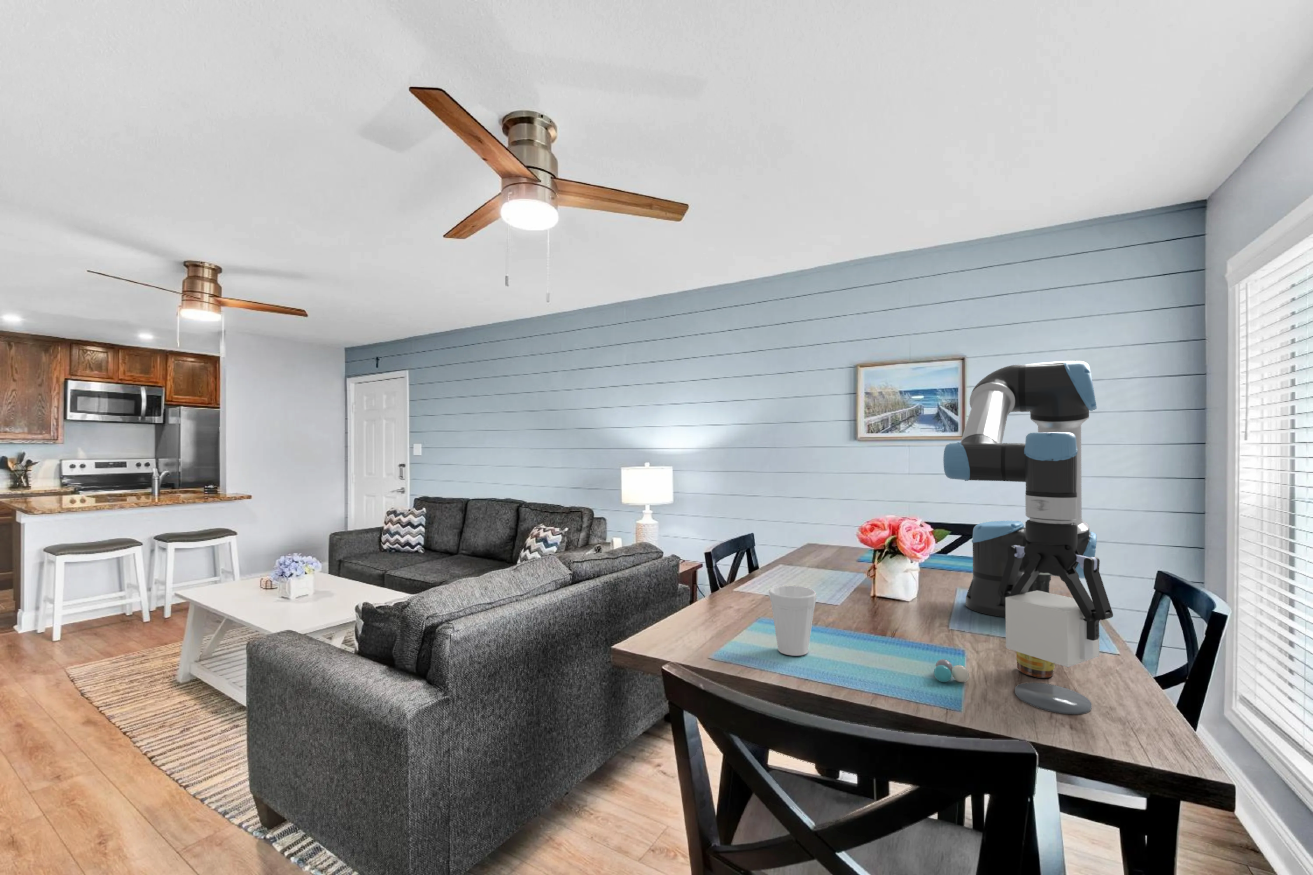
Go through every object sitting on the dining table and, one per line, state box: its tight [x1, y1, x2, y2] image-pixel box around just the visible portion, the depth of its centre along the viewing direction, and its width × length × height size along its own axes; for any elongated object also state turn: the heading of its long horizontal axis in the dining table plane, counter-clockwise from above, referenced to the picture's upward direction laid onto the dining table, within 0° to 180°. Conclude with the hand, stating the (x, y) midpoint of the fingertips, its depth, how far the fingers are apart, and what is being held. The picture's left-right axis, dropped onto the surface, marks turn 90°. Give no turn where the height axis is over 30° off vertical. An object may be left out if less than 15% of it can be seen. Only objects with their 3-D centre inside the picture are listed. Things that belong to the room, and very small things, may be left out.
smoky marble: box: [935, 658, 954, 674], centre depth 111 cm, size 3×3×3 cm
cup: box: [768, 584, 817, 657], centre depth 124 cm, size 10×10×13 cm
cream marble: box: [951, 664, 970, 683], centre depth 108 cm, size 3×3×3 cm
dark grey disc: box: [1014, 682, 1092, 715], centre depth 101 cm, size 11×11×1 cm
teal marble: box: [933, 665, 953, 683], centre depth 108 cm, size 3×3×3 cm
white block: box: [1005, 590, 1100, 668], centre depth 101 cm, size 10×10×9 cm
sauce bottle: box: [1015, 573, 1056, 679], centre depth 112 cm, size 6×6×20 cm
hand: (1051, 647), depth 101 cm, fingers closed on white block, 10 cm apart
